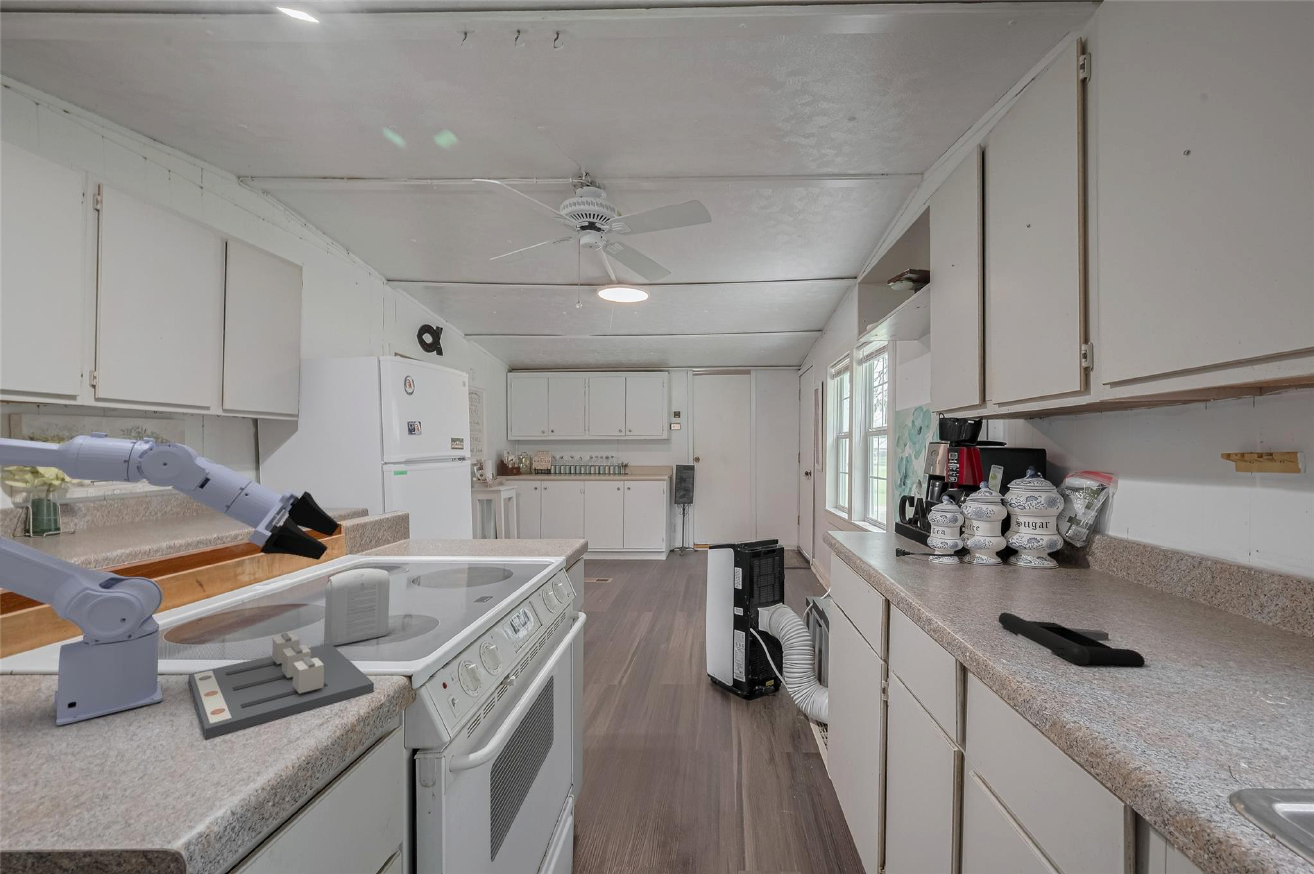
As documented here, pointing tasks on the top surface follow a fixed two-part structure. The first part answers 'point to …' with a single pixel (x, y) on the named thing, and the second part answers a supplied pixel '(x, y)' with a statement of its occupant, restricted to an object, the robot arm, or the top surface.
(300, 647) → the middle tab
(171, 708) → the top surface
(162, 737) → the top surface
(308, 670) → the near tab
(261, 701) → the switch board
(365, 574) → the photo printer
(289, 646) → the far tab
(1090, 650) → the door handle
